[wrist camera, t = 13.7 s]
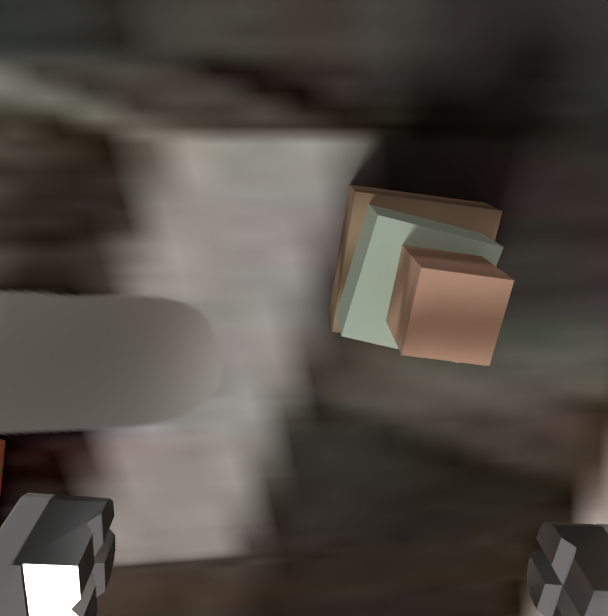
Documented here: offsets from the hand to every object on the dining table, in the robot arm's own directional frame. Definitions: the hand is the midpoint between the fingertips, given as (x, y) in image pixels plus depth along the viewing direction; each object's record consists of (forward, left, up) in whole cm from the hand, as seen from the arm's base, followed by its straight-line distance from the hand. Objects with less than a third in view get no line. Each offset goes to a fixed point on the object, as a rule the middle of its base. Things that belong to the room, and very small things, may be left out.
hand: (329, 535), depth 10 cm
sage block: (+2, +8, -28) cm, 29 cm away
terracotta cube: (+2, +9, -24) cm, 25 cm away
